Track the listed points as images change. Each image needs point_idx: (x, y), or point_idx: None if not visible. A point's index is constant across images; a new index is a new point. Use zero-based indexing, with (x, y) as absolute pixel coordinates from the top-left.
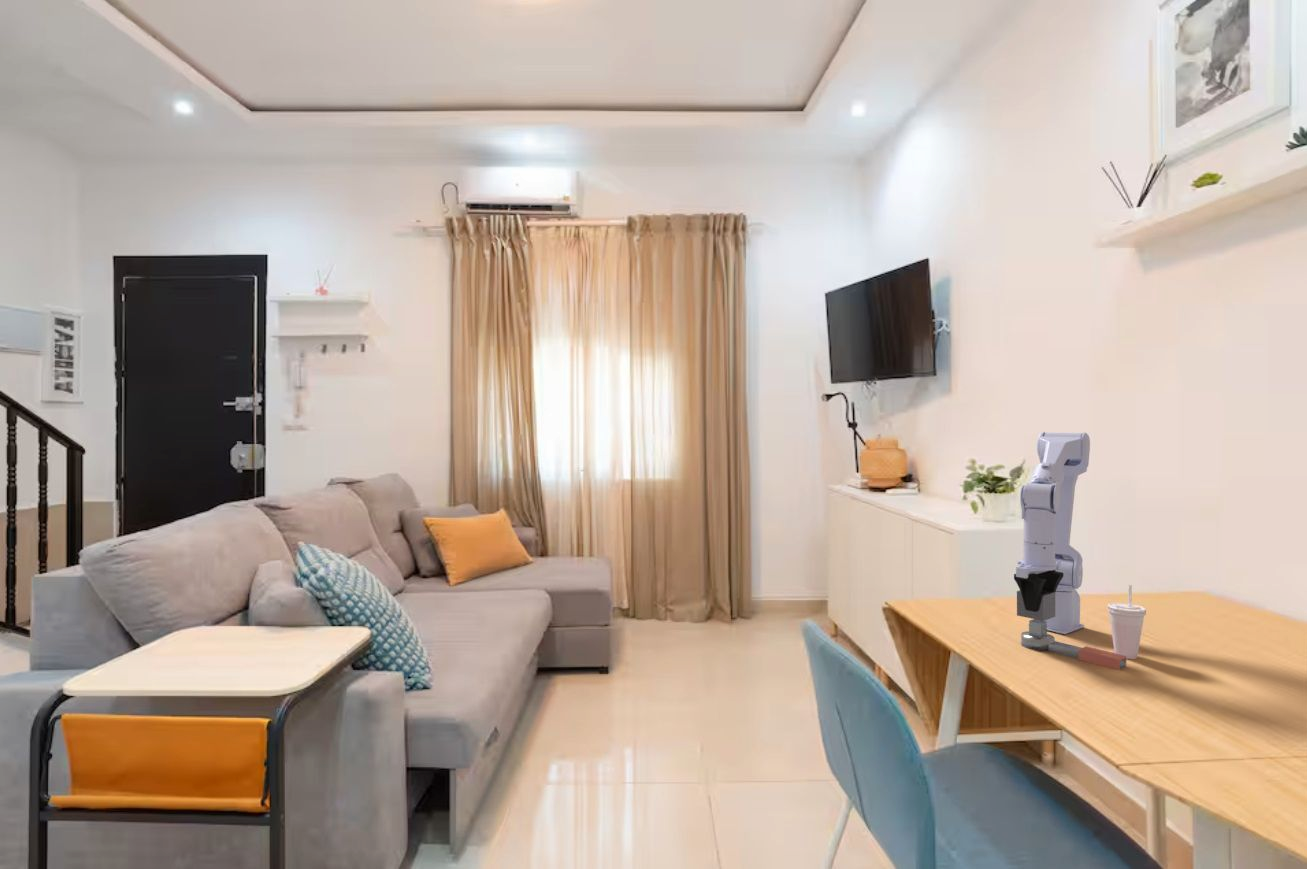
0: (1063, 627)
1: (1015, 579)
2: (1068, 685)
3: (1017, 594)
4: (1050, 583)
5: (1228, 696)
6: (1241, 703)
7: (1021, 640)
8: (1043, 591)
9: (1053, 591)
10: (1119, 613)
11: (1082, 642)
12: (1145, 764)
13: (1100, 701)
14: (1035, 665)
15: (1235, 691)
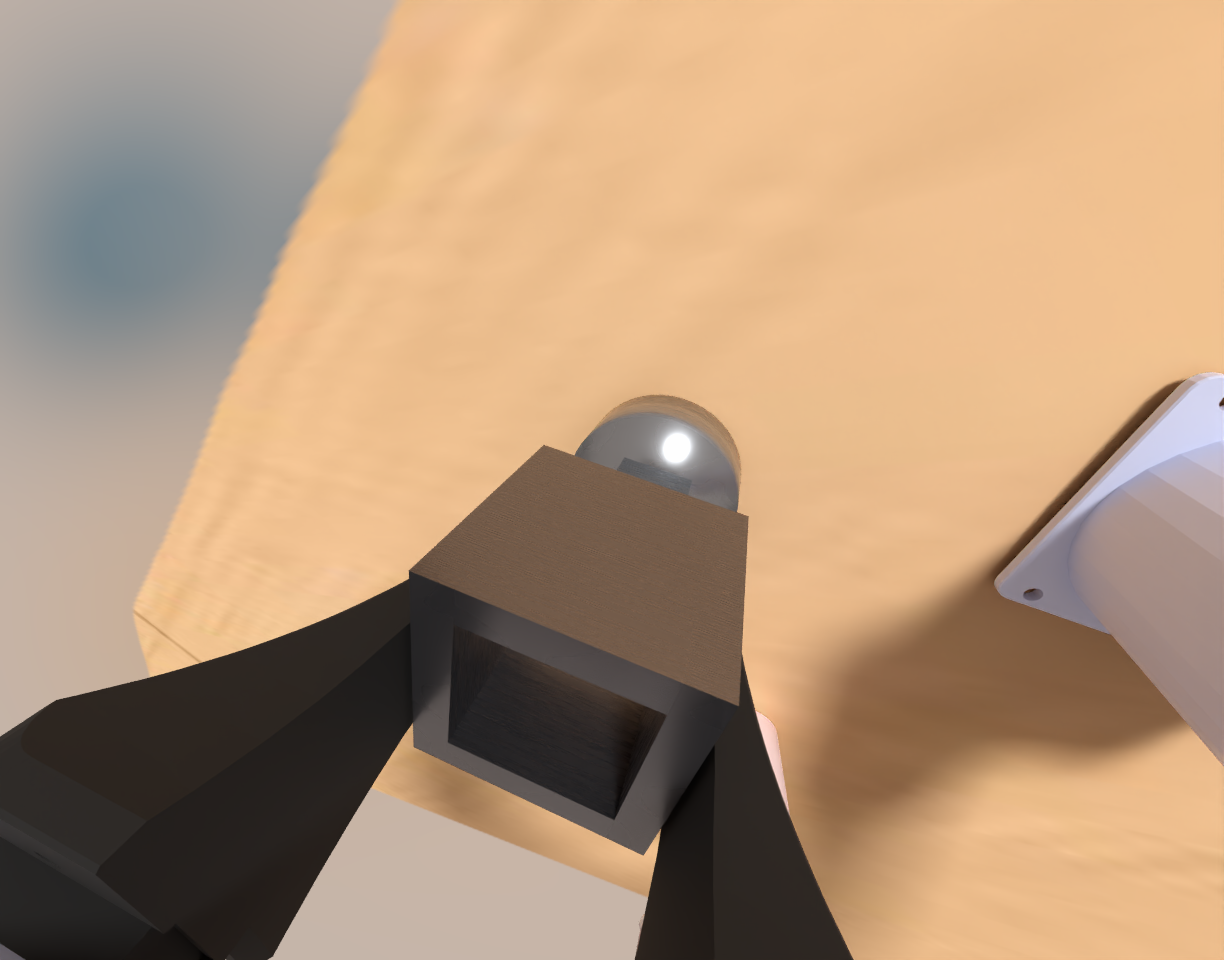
0: (1084, 600)
1: (63, 711)
2: (331, 562)
3: (432, 552)
4: (647, 952)
5: (542, 808)
6: (517, 810)
7: (624, 407)
8: (629, 785)
9: (660, 852)
10: (642, 921)
11: (865, 636)
12: (157, 631)
13: (304, 612)
14: (404, 479)
15: (586, 829)
